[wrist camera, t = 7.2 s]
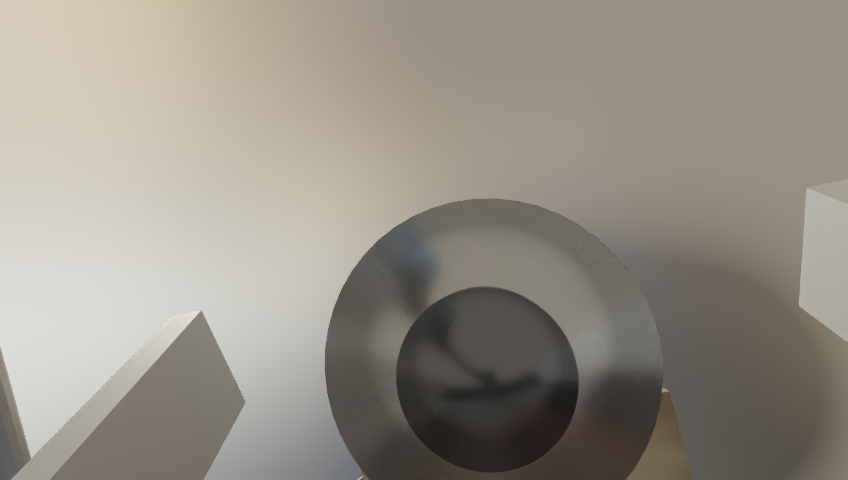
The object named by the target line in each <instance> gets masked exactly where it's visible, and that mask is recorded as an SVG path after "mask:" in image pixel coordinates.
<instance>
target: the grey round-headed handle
mask: <svg viewBox="0 0 848 480" xmlns="http://www.w3.org/2000/svg"><path fill="white" fill-rule="evenodd" d="M662 368H663V367H662V353H661V347H660V342H659V336H658V332H657V329H656V326H655V322H654V319H653V316H652V313H651V310H650V308H649V306H648V304H647V302H646V300H645V297H644V295H643V293H642V291H641V289H640V288H639V286H638V285H637V283H636V281H635V280H634V278H633V277H632V275H631V274H630V272H629V271H628V269H627V268H626V267H625V266H624V265H623V264H622V262H621V261H620V260H619V259H618V257H617V256H616V255H615V254H614V253H613V252H612V251H611V250H610V249H609V248H608V247H607V246H606V245H605V244H603V243H602V242H601V241H600V240H599V239H598V238H597V237H595V236H594V235H593V234H591V233H590V232H588V231H587V230H586V229H584V228H583V227H581V226H580V225H578V224H577V223H575V222H573V221H571V220H569V219H567V218H565V217H563V216H562V215H560V214H557V213H555V212H552V211H550V210H547V209H544V208H542V207H539V206H536V205H531V204H527V203H523V202H519V201H512V200H503V199H471V200H464V201H458V202H452V203H448V204H445V205H441V206H438V207H434V208H431V209H429V210H427V211H424V212H422V213H420V214H417V215H415V216H413V217H411V218H409V219H408V220H406V221H405V222H403V223H401V224H399V225H398V226H396V227H395V228H393V229H392V230H391V231H389V232H388V233H387V234H386V235H384V236H383V237H382V238H381V239H379V240H378V241H377V242H376V243H375V244H374V245H373V247H371V248H370V249H369V250H368V252H367V253H366V254H365V255H364V256H363V257H362V258H361V260H360V261H359V263H358V264H357V265H356V267H355V268H354V269H353V271H352V272H351V274H350V276H349V277H348V279H347V281H346V282H345V284H344V286H343V288H342V290H341V292H340V294H339V297H338V299H337V302H336V304H335V307H334V309H333V313H332V317H331V320H330V324H329V328H328V335H327V341H326V348H325V375H326V384H327V393H328V397H329V401H330V406H331V410H332V414H333V416H334V419H335V422H336V424H337V427H338V430H339V432H340V435H341V436H342V439H343V441H344V442H345V444H346V446H347V448H348V450H349V452H350V454H351V455H352V457H353V458H354V460H355V461H356V462H357V464H358V465H359V467H360V468H361V470H362V471H363V472H364V474H365V475H366V476H367V477H368V478H369V479H370V480H626V479H627V478H628V476H629V475H630V474H631V473H632V471H633V470H634V469H635V467H636V465H637V464H638V462H639V460H640V458H641V457H642V455H643V453H644V452H645V450H646V448H647V446H648V443H649V441H650V438H651V436H652V433H653V431H654V428H655V425H656V421H657V417H658V413H659V409H660V405H661V396H662V386H663V369H662Z"/></svg>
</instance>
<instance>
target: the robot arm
mask: <svg viewBox="0 0 848 480" xmlns="http://www.w3.org/2000/svg"><path fill="white" fill-rule="evenodd" d="M803 237H804V238H803V252H802V267H801V282H800V297H799V306H800V307H801V308H802V309H804V310H805V311H806V312H808V313H809V314H810V315H812V316H813V317H814V318H816V319H817V320H819V321H820V322H821V323H823V324H824V325H825V326H827V327H828V328H829V329H831V330H832V331H833V332H835V333H836V334H837V335H839V336H840V337H841V338H843V339H844V340H846V341H847V342H848V180H843V181H838V182H833V183H828V184H823V185H818V186H813V187H808V188H807V191H806V207H805V222H804V236H803ZM244 404H245V400H244V398H243V396H242V394H241V391H240V389H239V387H238V385H237V383H236V381H235V379H234V377H233V375H232V373H231V371H230V369H229V367H228V365H227V363H226V360H225V358H224V356H223V354H222V352H221V350H220V348H219V346H218V344H217V342H216V340H215V338H214V336H213V333H212V331H211V329H210V327H209V325H208V323H207V321H206V319H205V317H204V315H203V313H202V311H201V310H200V311H195V312H190V313H185V314H180V315H175V316H172V317H170V318H169V319H168V320H167V321H166V322H165V323H164V324H163V325H162V326H161V327H160V328H159V329H158V330H157V331H156V332H155V333H154V334H153V336H152V337H151V338H150V339H149V340H148V341H147V342H146V343H145V344H144V345H143V346H142V347H141V348H140V349H139V350H138V351H137V352H136V353H135V354H134V355H133V356H132V357H131V358H130V359H129V360H128V361H127V362H126V363H125V364H124V365H123V366H122V367H121V368H120V369H119V370H118V371H117V372H116V373H115V374H114V375H113V376H112V377H111V378H110V379H109V380H108V381H107V382H106V383H105V385H103V387H101V388H100V389H99V390H98V391H97V392H96V394H95V395H93V397H92V398H91V399H90V400H89V401H88V402H87V403H86V404H85V405H84V406H83V407H82V408H81V409H80V410H79V411H78V412H77V413H76V414H75V415H74V416H73V417H72V418H71V419H70V420H69V421H68V422H67V423H66V424H65V425H64V426H63V427H62V428H61V429H60V430H59V431H58V432H57V433H56V434H55V435H54V436H53V437H52V438H51V439H50V440H49V441H48V442H47V443H46V444H45V445H44V446H43V447H42V448H41V449H40V450H39V451H38V452H37V454H36V455H35V456H34V457H33V458H32V459H31V457H30V454H29V450H28V446H27V443H26V439H25V435H24V432H23V428H22V424H21V421H20V417H19V413H18V410H17V406H16V402H15V399H14V395H13V392H12V388H11V385H10V381H9V377H8V373H7V370H6V367H5V363H4V359H3V355H2V352H1V348H0V480H203V479H204V478H205V476H206V474H207V472H208V470H209V468H210V467H211V465H212V463H213V461H214V459H215V457H216V456H217V454H218V452H219V450H220V448H221V446H222V444H223V443H224V441H225V439H226V437H227V435H228V433H229V432H230V430H231V428H232V426H233V424H234V422H235V421H236V419H237V417H238V415H239V413H240V411H241V410H242V408H243V406H244Z"/></svg>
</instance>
